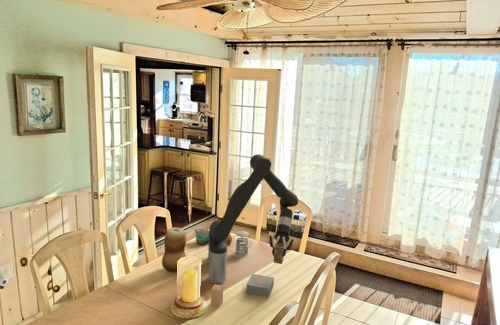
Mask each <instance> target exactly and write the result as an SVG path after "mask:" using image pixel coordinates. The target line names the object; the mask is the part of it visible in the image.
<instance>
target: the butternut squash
mask: <svg viewBox="0 0 500 325" xmlns="http://www.w3.org/2000/svg"><path fill="white" fill-rule="evenodd" d="M186 243H187V232H186V231H185V230H184V229H182V228H181V227H171V228H169V229H168V230H166V233H165V235H164V253H163V256H162V258H161V264H162V268H163V269H164V270H165V271H166V272H168V273H169V272H172V273H174V272H176V273H177V272H178V271H177V261H178V260H179V259H180V258H182V257H185V256H186V257H187V255H186V252H185V248H186V245H187V244H186Z"/></svg>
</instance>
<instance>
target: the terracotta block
mask: <svg viewBox="0 0 500 325" xmlns="http://www.w3.org/2000/svg"><path fill="white" fill-rule="evenodd" d="M223 301H224V285H222V284H216V283H213V285H212V287H211V288H210V307H215V308H221V306H222V304H223V303H224V302H223Z"/></svg>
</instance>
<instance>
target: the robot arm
mask: <svg viewBox="0 0 500 325" xmlns="http://www.w3.org/2000/svg"><path fill="white" fill-rule="evenodd" d="M249 160H250V161H249V166H250V168H251V169H252V172H251V173H250V176H249V177H248V178H247V179H246V180H244V181H243V182H242V183H240V185H238V186H237V187H236V188H235V190H234V191H233V193H232V194H231V196H230V198H229V200H228V203H227V206H226V209H225V212H224V214H223V217H222V218H221V219H220V220H219V219H218V220H214V221H213V222H212V223H211V224H210V226H209V230H208V231H209V244H208V246H209V245H210V260H209V269H208V270H209V271H208V277H209V278H208V281H209V282H210V283H212V284H216V285H220V284H223V283H225V282H226V280H227V256H228V244H226V238H227V237H228V235H229V233H230V234H231V231H232V230H233V227H234V226H235V223H236V222H237V220H238V218H239V217H240V215H241V213H242V212H243V211H244V209H245V207H246V205H248V204H249V201H250V199H251V197H252V196H253V194H254V193H255V192H256V190H257V188H258V187H259V186H260V184H261V182H262V181H263V180H264V181H265V183H266V184H267V185H268V186H269V187H270V188H271V190H272V191H273V192H274V194H275V195H276V196H277V198H280V199H279V206H280V207H279V210H280V213H279V216H278V220H277V223H276V224H277V226H276V229H275V233H274V235H271V234H270V235H269V236H268V237H269V238H268V239H269V246H270V248H272V250H271V255H272V256H273V257H274V249H275V245H276V244H283V245H284V249H283V255H282V257H283V258H285V257H286V253H287V251H290V250H291V249H292V246H293V244H294V242H295V241H294V239H293V238H290V234H291V228H292V220H293V214H294V212H293V210H292V209H290V208H291V207H292V208H293V207H296V206H298V204H299V199H298V196H297V194H296V193H294V192H293V191H291V190H290V189H288V188H287V187H286V185H285V184H284V182H282V180H281V179H280V177H278V176H277V175H276V174H275V173H274V172H273V171H272V169H271V167H272V162H271V160H270V158H268V157H266V156H264V155H262V154H259V153H258V154H254V155H252V157H251V158H250V159H249ZM274 240H275V241H274ZM273 241H274V244H273ZM288 242H289V244H288V246H287V243H288Z"/></svg>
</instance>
